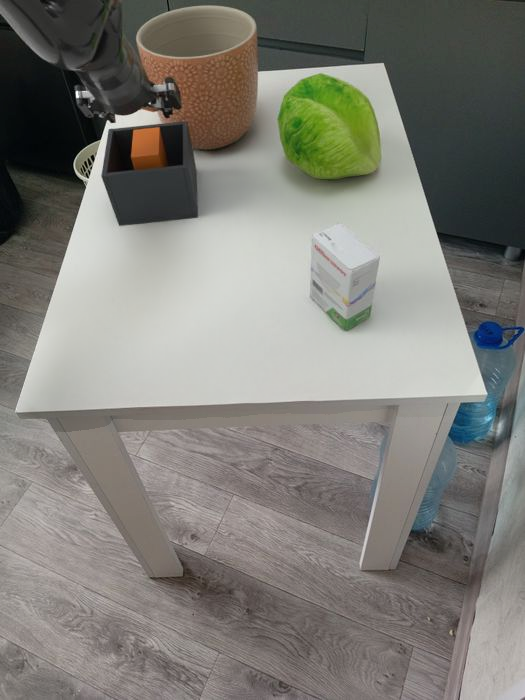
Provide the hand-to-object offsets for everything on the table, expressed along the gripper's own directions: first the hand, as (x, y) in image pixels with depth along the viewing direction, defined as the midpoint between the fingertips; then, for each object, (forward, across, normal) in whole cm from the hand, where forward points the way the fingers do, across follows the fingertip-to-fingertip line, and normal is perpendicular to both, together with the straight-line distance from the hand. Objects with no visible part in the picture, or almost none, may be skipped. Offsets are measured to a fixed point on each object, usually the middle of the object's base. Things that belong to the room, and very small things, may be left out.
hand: (139, 114), depth 80 cm
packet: (+9, 0, +11) cm, 14 cm away
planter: (+23, -10, -2) cm, 25 cm away
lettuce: (+12, -31, +9) cm, 34 cm away
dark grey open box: (+10, 0, +11) cm, 15 cm away
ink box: (-11, -27, +32) cm, 44 cm away
